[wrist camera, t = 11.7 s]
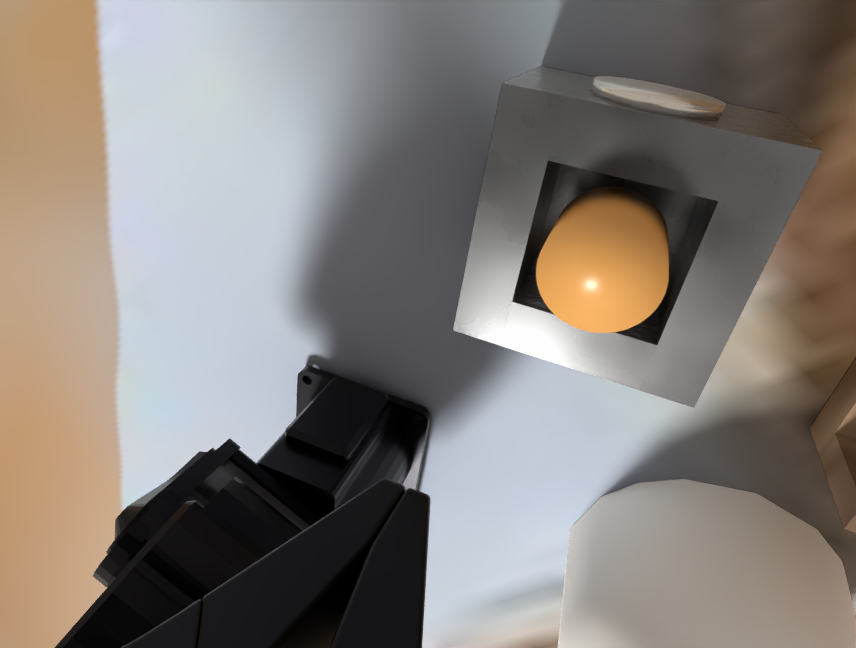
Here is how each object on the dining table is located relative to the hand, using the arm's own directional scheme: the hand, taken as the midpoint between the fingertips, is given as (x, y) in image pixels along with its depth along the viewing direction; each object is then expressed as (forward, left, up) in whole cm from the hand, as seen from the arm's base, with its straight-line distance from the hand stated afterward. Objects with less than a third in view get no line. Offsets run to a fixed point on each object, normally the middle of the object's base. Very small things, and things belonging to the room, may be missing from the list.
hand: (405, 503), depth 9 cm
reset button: (+2, -2, -11) cm, 11 cm away
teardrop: (-13, -10, -13) cm, 21 cm away
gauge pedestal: (+2, -2, -13) cm, 13 cm away
